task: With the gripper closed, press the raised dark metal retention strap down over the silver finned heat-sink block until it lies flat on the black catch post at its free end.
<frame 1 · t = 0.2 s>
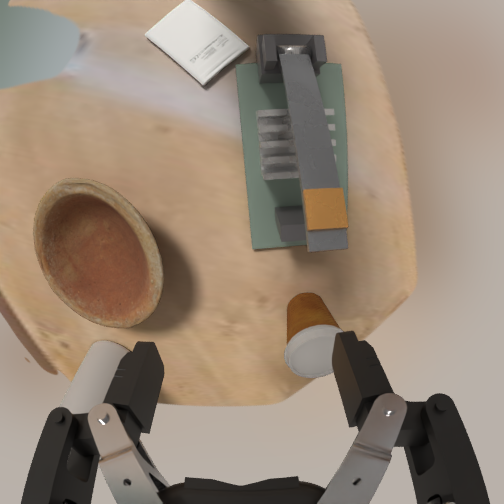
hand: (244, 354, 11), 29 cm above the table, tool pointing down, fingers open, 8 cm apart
heatsink: (288, 140, 34), resting on board
external hard drive: (196, 41, 28), on the table
catch post: (291, 211, 38), resting on board
bowl: (108, 241, 40), on the table
cylinder vase: (116, 358, 52), on the table
disposable coffee cup: (305, 307, 46), on the table
hinge post: (282, 70, 30), resting in board
strap: (310, 126, 21), point 14 cm above the table, hinge at -30.0°
board: (296, 154, 35), on the table
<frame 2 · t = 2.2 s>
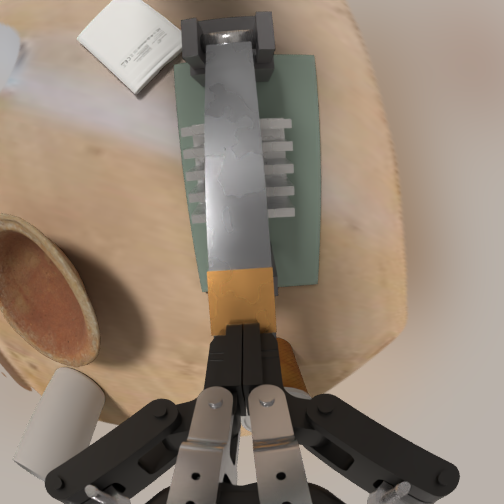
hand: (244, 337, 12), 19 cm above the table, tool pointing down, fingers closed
heatsink: (241, 159, 27), resting on board
external hard drive: (133, 39, 21), on the table
bowl: (55, 273, 33), on the table
cylinder vase: (81, 384, 45), on the table
disposable coffee cup: (270, 351, 39), on the table
hinge post: (234, 67, 23), resting in board
strap: (233, 156, 14), point 14 cm above the table, hinge at -29.7°, touching gripper
board: (252, 177, 28), on the table
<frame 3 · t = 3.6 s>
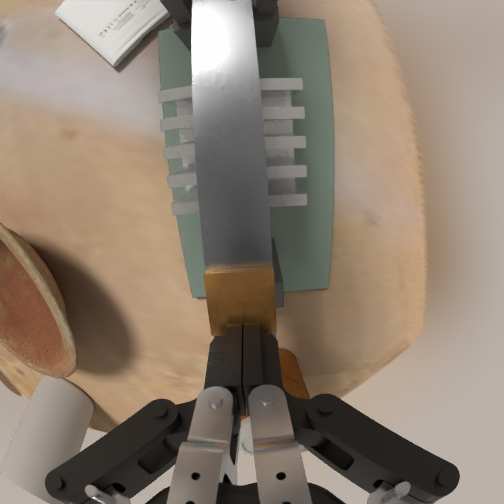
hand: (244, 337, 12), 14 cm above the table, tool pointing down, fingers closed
heatsink: (238, 138, 22), resting on board
external hard drive: (115, 9, 15), on the table
catch post: (246, 246, 26), resting on board
bowl: (32, 275, 28), on the table
cylinder vase: (68, 392, 40), on the table
disposable coffee cup: (272, 362, 34), on the table
hinge post: (230, 31, 17), resting in board
strap: (229, 135, 11), point 11 cm above the table, hinge at -13.7°, touching gripper
board: (251, 160, 23), on the table
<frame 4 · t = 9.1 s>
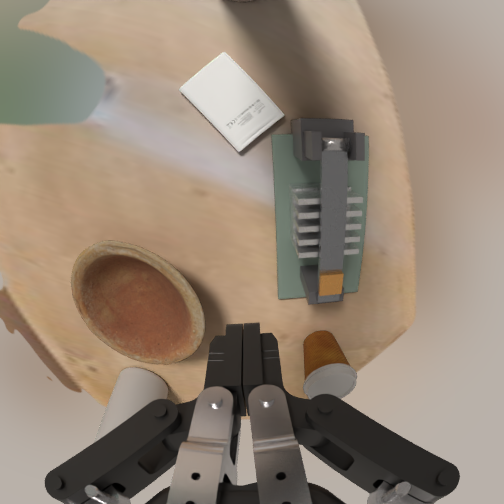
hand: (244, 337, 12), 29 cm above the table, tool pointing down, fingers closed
heatsink: (315, 208, 40), resting on board
external hard drive: (231, 101, 34), on the table
catch post: (314, 268, 44), resting on board
bowl: (144, 287, 46), on the table
cylinder vase: (144, 381, 57), on the table
disposable coffee cup: (318, 341, 51), on the table
hinge post: (314, 140, 35), resting in board
strap: (333, 227, 31), point 9 cm above the table, hinge at -0.1°
board: (321, 220, 41), on the table
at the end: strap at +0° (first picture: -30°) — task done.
